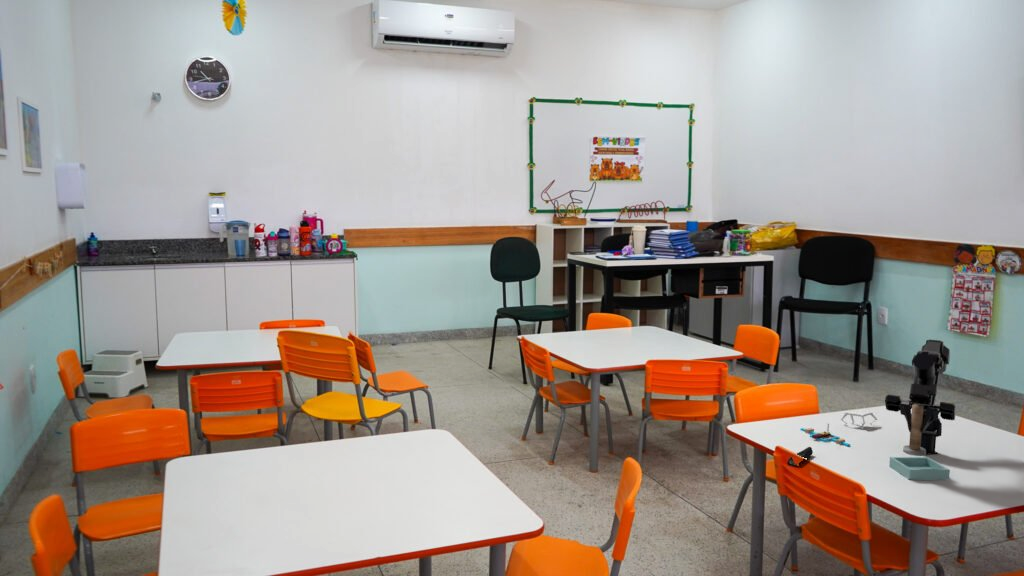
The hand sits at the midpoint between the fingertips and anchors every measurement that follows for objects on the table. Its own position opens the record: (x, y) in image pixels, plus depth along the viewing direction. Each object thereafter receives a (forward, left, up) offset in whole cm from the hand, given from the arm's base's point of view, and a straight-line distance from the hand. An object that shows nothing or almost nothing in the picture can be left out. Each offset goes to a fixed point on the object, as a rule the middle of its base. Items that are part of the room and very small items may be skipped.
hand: (915, 430), depth 225 cm
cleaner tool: (-1, -1, -7) cm, 7 cm away
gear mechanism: (+12, -34, -14) cm, 39 cm away
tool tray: (-2, -1, -13) cm, 13 cm away
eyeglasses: (-9, -48, -14) cm, 51 cm away
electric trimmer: (+29, -12, -14) cm, 35 cm away
